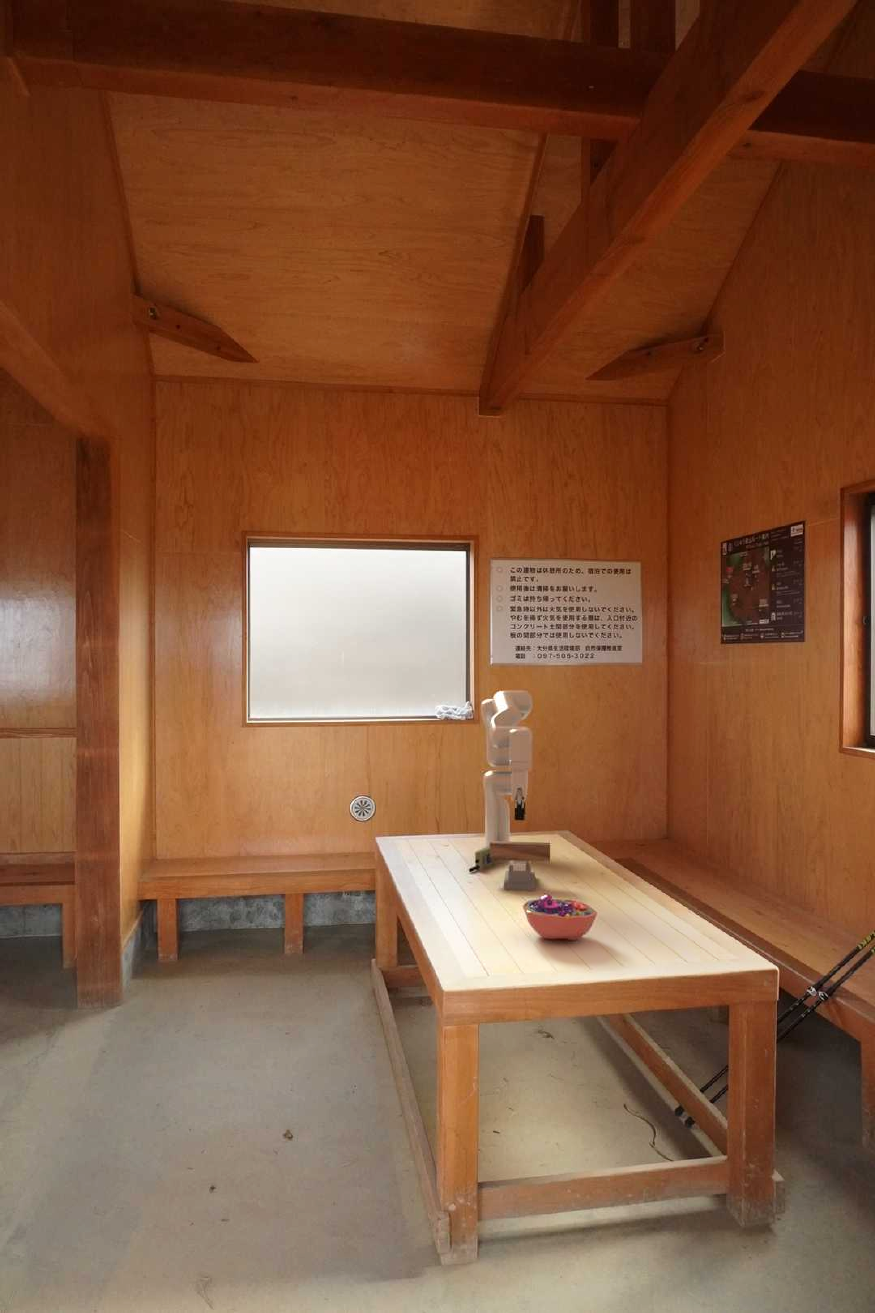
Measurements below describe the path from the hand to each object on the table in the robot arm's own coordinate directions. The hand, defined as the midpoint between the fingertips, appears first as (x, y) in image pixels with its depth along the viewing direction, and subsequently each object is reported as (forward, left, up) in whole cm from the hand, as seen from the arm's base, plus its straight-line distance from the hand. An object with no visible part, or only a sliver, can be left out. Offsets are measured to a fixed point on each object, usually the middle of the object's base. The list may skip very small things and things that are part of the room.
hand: (519, 817), depth 276 cm
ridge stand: (0, 0, -22) cm, 22 cm away
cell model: (+53, +12, -22) cm, 59 cm away
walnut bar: (0, 0, -14) cm, 14 cm away
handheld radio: (-22, -13, -23) cm, 34 cm away
